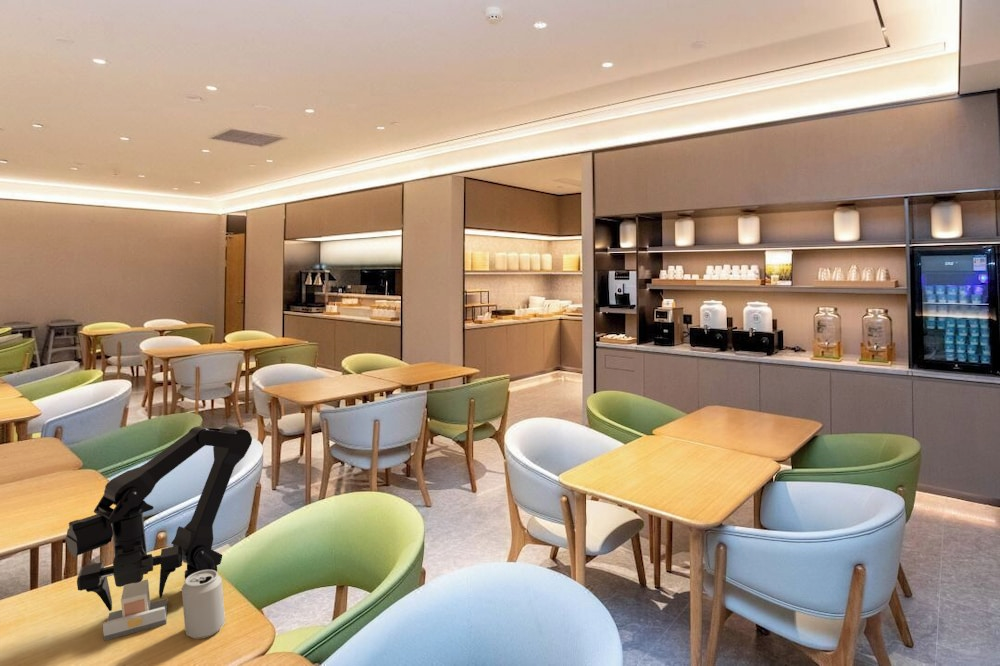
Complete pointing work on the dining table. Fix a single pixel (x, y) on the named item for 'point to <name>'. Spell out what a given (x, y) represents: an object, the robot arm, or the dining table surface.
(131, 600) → the carton
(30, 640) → the dining table surface
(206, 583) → the can
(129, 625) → the grey drawer
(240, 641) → the dining table surface
